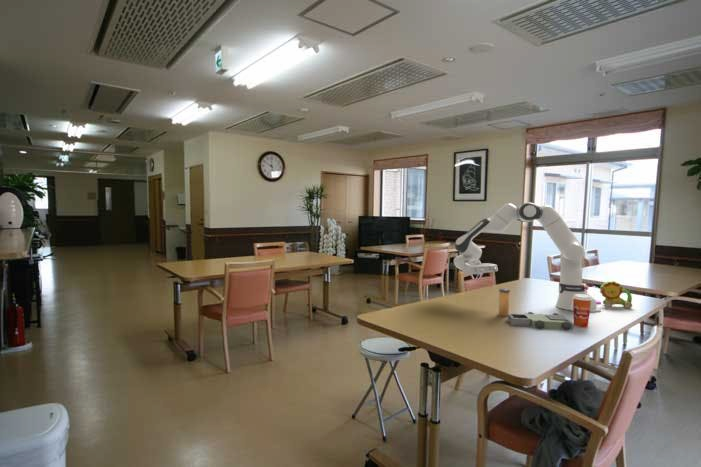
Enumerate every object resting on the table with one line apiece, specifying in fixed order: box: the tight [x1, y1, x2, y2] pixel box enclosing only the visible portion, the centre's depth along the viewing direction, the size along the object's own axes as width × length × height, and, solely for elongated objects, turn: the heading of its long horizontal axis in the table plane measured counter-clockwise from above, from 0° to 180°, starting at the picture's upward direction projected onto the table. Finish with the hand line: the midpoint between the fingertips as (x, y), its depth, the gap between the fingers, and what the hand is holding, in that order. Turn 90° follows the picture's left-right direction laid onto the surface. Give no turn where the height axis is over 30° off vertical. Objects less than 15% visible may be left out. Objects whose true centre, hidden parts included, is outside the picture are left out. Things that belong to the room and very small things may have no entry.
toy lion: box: [599, 280, 633, 309], centre depth 229 cm, size 16×5×15 cm, turn 72°
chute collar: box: [507, 313, 532, 327], centre depth 194 cm, size 9×9×4 cm
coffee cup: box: [572, 294, 592, 328], centre depth 191 cm, size 8×8×15 cm
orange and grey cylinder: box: [498, 288, 511, 317], centre depth 208 cm, size 5×5×14 cm
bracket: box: [585, 290, 602, 305], centre depth 241 cm, size 13×6×7 cm, turn 31°
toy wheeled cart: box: [524, 311, 574, 331], centre depth 192 cm, size 18×16×4 cm
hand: (490, 270), depth 218 cm, fingers open, 8 cm apart
